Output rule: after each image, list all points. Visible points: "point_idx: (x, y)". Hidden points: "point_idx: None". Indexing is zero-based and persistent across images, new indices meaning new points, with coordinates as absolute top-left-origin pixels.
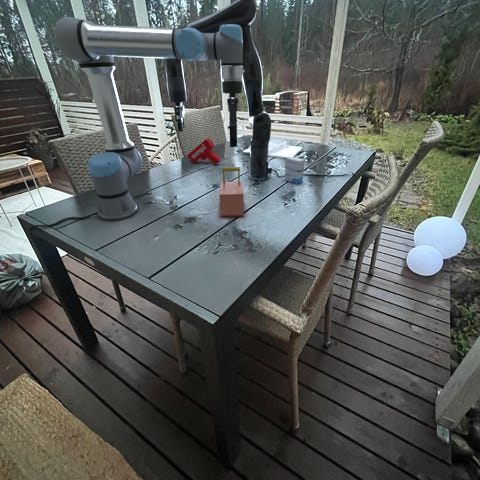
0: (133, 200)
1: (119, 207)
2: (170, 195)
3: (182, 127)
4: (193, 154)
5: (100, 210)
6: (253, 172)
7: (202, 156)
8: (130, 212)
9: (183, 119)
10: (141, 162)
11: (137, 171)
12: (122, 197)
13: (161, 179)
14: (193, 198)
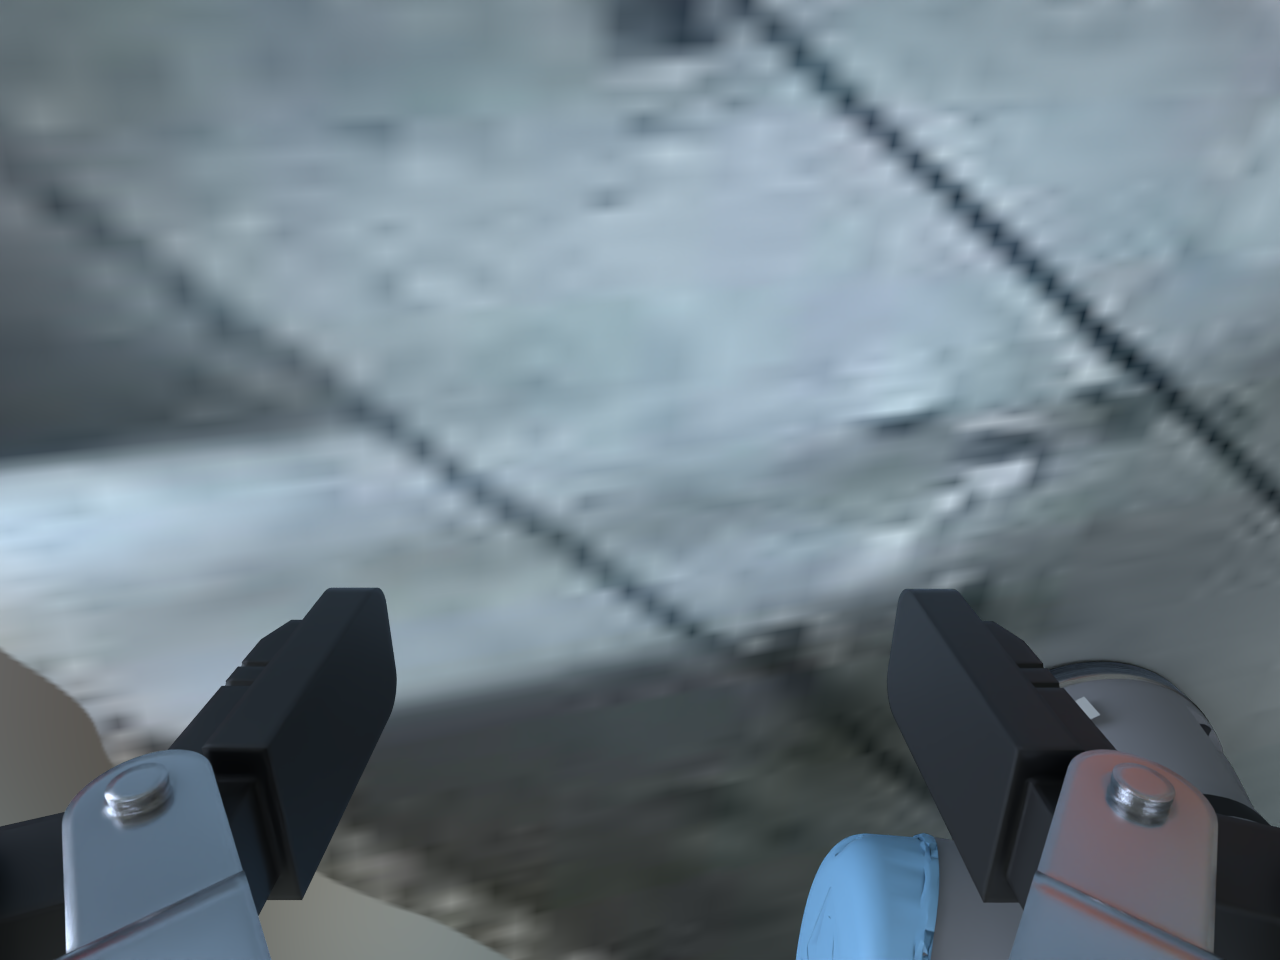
0: (1107, 720)
1: (1236, 777)
2: (849, 473)
3: (995, 645)
4: None
5: None
6: None
7: None
8: (1182, 694)
9: (268, 765)
10: (903, 870)
11: (947, 839)
12: (1248, 804)
13: (448, 603)
14: (965, 257)
